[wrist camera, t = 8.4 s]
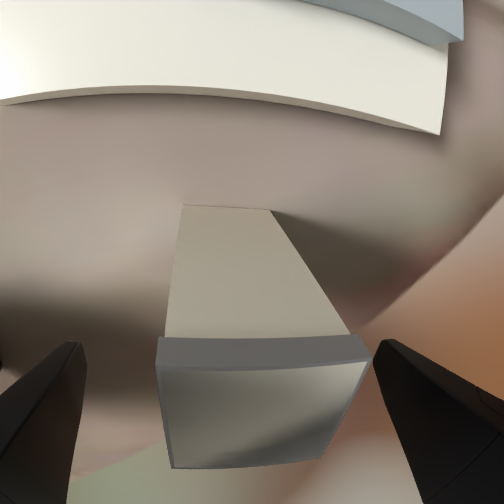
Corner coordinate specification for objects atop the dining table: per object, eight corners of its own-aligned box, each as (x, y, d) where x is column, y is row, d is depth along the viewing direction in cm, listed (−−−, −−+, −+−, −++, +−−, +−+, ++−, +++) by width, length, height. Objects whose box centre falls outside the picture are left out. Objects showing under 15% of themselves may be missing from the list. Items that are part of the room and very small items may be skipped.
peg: (178, 283, 16) (171, 468, 7) (180, 202, 14) (154, 365, 5) (260, 285, 16) (320, 458, 8) (271, 208, 15) (372, 357, 6)
